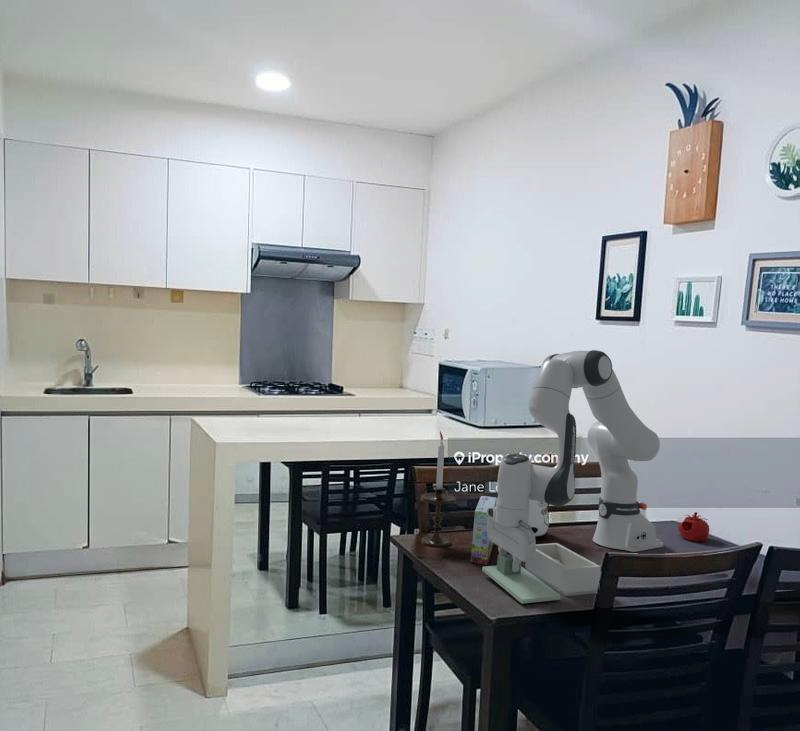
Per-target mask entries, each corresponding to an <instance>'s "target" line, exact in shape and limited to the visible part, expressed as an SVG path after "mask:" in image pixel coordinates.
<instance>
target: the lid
mask: <svg viewBox="0 0 800 731" xmlns="http://www.w3.org/2000/svg"><path fill="white" fill-rule="evenodd" d="M513 560H514V559H513V555H512V554H510V553H507V554H505V555H500V554H497V560H496V561H497V562H496V565H488V566H487V565H485V566H482V569H481V570H482V572H483V573H484V574H486V575H488V577H490V578H491V579H492V580H493V581H495V583H497V585H499V586H500V587H501V588H503V590H505V591H506V592H507V593H508V594H510V595H511V596H512V597H513V598H515V600H517V601H518V602H519V603H521V604H529V603H531V604H532V603H541V602H551V601H558V600H561V598H562V596H561V595H562V594H559V592H558V591H556V590H555V589H554V588H552V587H551V586H549V585H548V584H546V583H545V582H543V581H541V580H540V579H538V578H537V577H535V576H534V575H532V574H531V573H530V572H528V571H527V570H526V569H525V568H524V567H523V566H522V562H523V561H521V563H520V565H519V571H518V572H513V571H512V570H511V569H510V564H511V563H513Z"/></svg>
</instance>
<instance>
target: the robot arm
mask: <svg viewBox="0 0 800 731" xmlns="http://www.w3.org/2000/svg"><path fill="white" fill-rule="evenodd" d="M620 384H621V383H620V382H619V379H618V377H617V375H616V372H615V371H614V369H613V363H612V360H611V358H610V357H609V356H608V355H607V353H605V352H604V351H601V350H597V349H596V350H594V349H592V350H573V351H568V352H562V353H554V354H551V355H548V356H547V357H546V358H545V359H544V360H543V362H542V364H541V366H540V368H539V370H538V372H537V375H536V377H535V380H534V382H533V385H532V388H531V392H530V396H529V399H528V410H529V413H530V415H531V417H533V419H534V420H535V421H536V422H537V423H538V424H540V425H541V426H542V427H545V428H546V429H548V430H550V431H552V432H554V433H555V434H556V435H557V438H558V447H557V460H556V461H557V462H556V465H555V466H553V467H551V466H544V465H538V464H534V463H531V459H530V457H528V456H527V455H525V454H521V453H511V454H506V455H504V456H503V457H502V458H501V460H500V464H499V467H498V473H497V483H496V490H497V497H496V498H497V501H496V507H489V508H487V515H488V516H489V517H488V520H487V536H488V539H489V540H490V541H491V542H493V545H494V544H495V545H496V546H497V550H498V555H505V554H512V555H513V559H514V560H513V563H511V564H510V569H511V570H512V571H513V572H518V571H519V565H520V563H521V561H522V562H523V563H524V562H525V563H526V562H529V561H534V559H535V557H536V543H537V542H536V538H535V535H534V533H533V531H532V529H531V526H530V525H528V524H529V509H530V504H529V499H530V500H534V501H539V502H544V503H547V505H551V506H554V507H557V508H561V507H563V506H565V505H567V504H568V503H569V502H571V501H572V500H574V499H573V498H574V497H575V496H574V495H575V491H576V490H575V489H576V481H575V479H576V478H575V469H576V468H575V465H576V451H577V422H576V418H575V416H574V415H573V414H572V413H571V412H570V407H569V406H570V400H571V396H572V395H571V394H572V389H579V388H582V391H583V393H584V396H585V398H586V401H587V403H588V406H589V409H590V411H591V414H592V416H593V417H594V418H595V419H596V422H594V423H593V424H591V425H590V427H589V428H588V430H587V442H588V444H589V446H590V447H591V448H592V450H593V451H594V453H595V456H596V458H597V460H598V464H599V469H600V473H601V484H600V486H601V487H600V488H601V489H600V497H599V498H598V499H599V500H598V518H597V524H596V528H595V532H594V534H593V537H592V541H593V543H595V544H598V545H600V546H602V547H605V548H609V549H614V550H615V549H616V550H622V551H628V552H631V553H636V552H637V553H638V552H641V551H647V550H653V549H658V548H663V547H664V542H663V541H661V539H659V538H657V531H656V530H657V529H656V527H655V525H654V524H653V523H652V522H651V521H650V520H649V519H648V518H646V517H645V516H644V515H643V514H642V513H641V510H643V511H646V510H647V508H648V505H647V503H644V502H640V503H639V501H637V500H638V499H637V497H638V484H639V483H638V482H639V481H638V476H637V475H636V473H635V472H634V471H633V470H632V468H631V467H630V466H631V465H630V464H629V461H633V462H648V461H649V462H650V461H652V460H654V459H655V457H656V456H657V455H658V453H659V450H660V445H661V442H660V438H659V436H658V434H657V433H656V432H655V431H653V430H651V429H650V428H649V427H648V426H647V425H646V424H644V423H643V421H642V420H641V419H640V418H639V417H638V416H637V415H636V413H635V412H634V410H633V409H632V408H631V406H630V405H629V403H628V401H627V398H626V396H625V394H624V391H623V388H622V386H621V385H620ZM628 460H629V461H628ZM521 564H522V563H521Z"/></svg>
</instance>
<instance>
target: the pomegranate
mask: <svg viewBox="0 0 800 731" xmlns="http://www.w3.org/2000/svg"><path fill="white" fill-rule="evenodd" d="M700 517H701V518H700ZM707 521H708V519H707V518H704V517H703V518H702V516H701V514H699V515H698V512H697V511H694V512H693V514H691V516H690V515H689V514H686V517H685V518H684V520H683V521H681V522H679V524H678V525H677V528H678V533H679V535H680V536H681V537H682V538H683V539H685V540H687V541H691V542H697V543H698V542H699V541H701V543H702V542H705V541H707V540H708V538H709V535H710V526H709V524H708V523H707ZM699 543H700V542H699Z"/></svg>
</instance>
